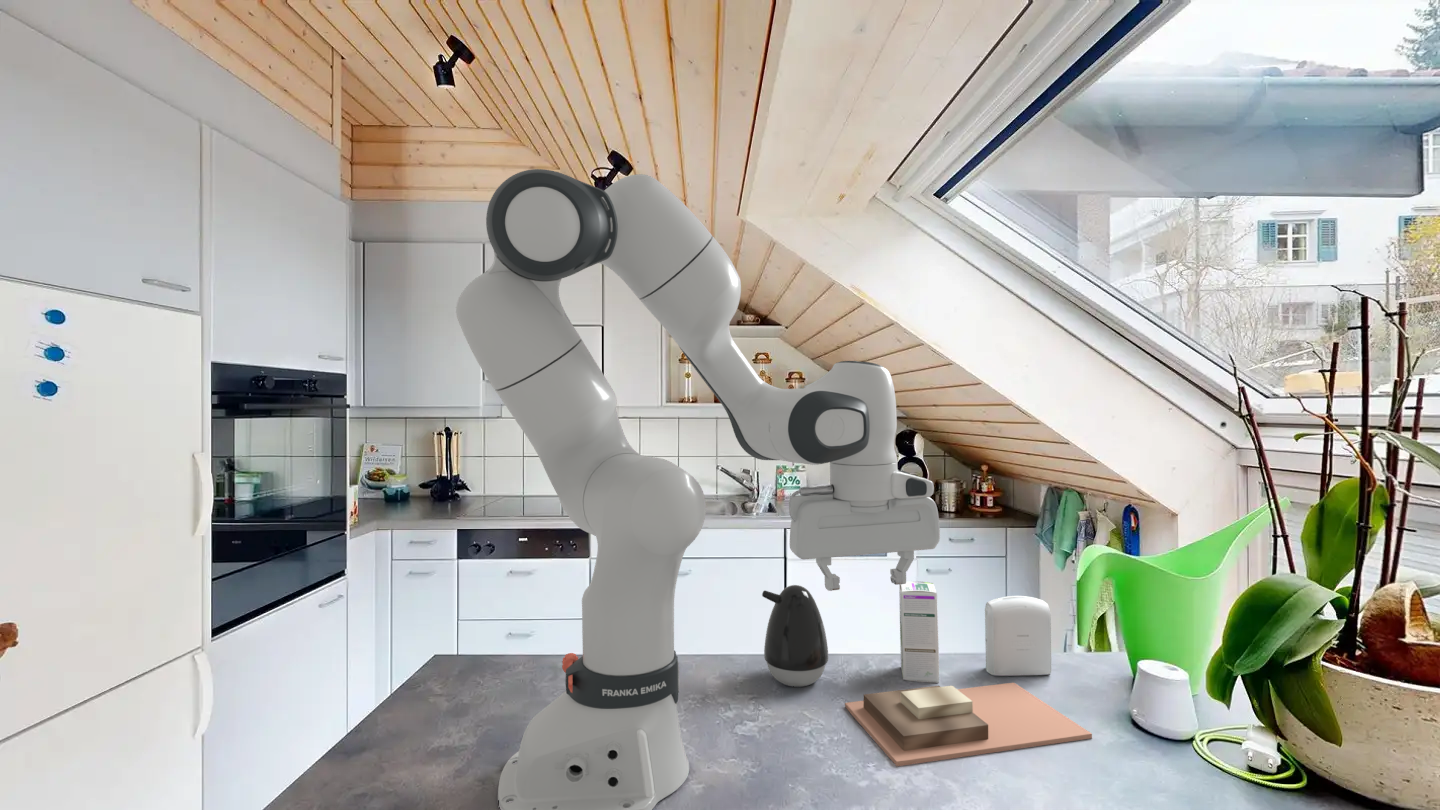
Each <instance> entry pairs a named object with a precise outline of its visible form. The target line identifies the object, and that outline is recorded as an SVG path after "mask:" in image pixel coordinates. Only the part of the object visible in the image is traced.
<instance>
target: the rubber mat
mask: <svg viewBox="0 0 1440 810" xmlns="http://www.w3.org/2000/svg"><path fill="white" fill-rule="evenodd" d="M956 689H957V690H958V691H960V692H961V693H962V694H964V695H965V696H966V697H968V698H969V699H970V700H971V701H973V713H974V714H975V715H977V716H978V717H979V718H980V719H982V720H983V721H984V722H985V723H987V724H988V739H987V740H979V741H972V742H965V743H958V744H951V745H944V746H937V747H929V748H922V749H915V750H908V751H903V750H902V748H901V747H900V746H899V745H898V744H897V743H896V742H895V741H894V740H893V739H892V738H891V737H890V736H889V734H888V733H887V732H886V731H885V730H884V729H883V728H882V727H881V726H880V725H879V724H878V723H877V721H876V720H875V719H874V718H873V717H872V716H871V715H870V714H869V713H868V712H867V711H866V710H865V709H864V700H859V701H858V700H857V701H851V702H849V701H848V702H845V703H844V708H846V710H847V711H848V712H849V713H850V715H851V716H852V717H853V718H854V719H855V721H857V722H858V723H859V725H860V726H861V727H862V728H863V729H864V731H865V732H866V733H867V734H868V735H869V737H870V738H871V739H873V741H874V742H875V743H876V744H877V746H878V747H879V748H880V749H881V750H882V751H883V753H885V755H886V756H887V757H888V759H890V760H891V762H892V763H893V764H894V765H895V766H896V767H903V766H909V765H916V764H923V763H930V762H931V763H932V762H936V761H944V760H951V759H958V758H965V757H971V756H972V757H973V756H979V755H985V754H992V753H993V754H994V753H999V752H1006V751H1013V750H1014V751H1015V750H1021V749H1027V748H1034V747H1039V746H1047V745H1055V744H1061V743H1068V742H1074V741H1075V742H1076V741H1081V740H1089V739H1093V733H1092V732H1090V731H1088V730H1087V729H1086V728H1084V727H1083V726H1081V725H1079V724H1078V723H1076V722H1075V721H1074V720H1072V719H1070V718H1069V717H1067V716H1066V715H1064V714H1063V713H1061V712H1059V711H1058V710H1057V709H1055V708H1053V707H1052V706H1051V705H1049V704H1047V703H1046V702H1045V701H1042V700H1041V699H1040V698H1038V697H1036V696H1035V695H1034V694H1033V693H1032V692H1031V693H1030V692H1029V691H1028V690H1026V689H1025V688H1023V687H1022V686H1021V685H1018V684H1017V683H1015V682H1007V683H999V684H991V685H983V686H982V685H980V686H974V687H967V688H966V687H965V688H964V687H963V688H956Z"/></svg>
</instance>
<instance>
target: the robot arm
mask: <svg viewBox="0 0 1440 810" xmlns="http://www.w3.org/2000/svg"><path fill="white" fill-rule="evenodd" d="M485 222H486V224H485V225H486V233H487V236H488V237H487V238H488V239H489V244H490V245H491V247H492V249H493V252H494V253H493V254H494V256H493V257H494V258H493V263H492V265H491V266H490V267H489V268H488V269H487V270H486V271H485V272H483V273H482V274H480V275H477V277H475V278H474V279H473V280H471V282H469V283H468V284H467V285H466V286H465V288H464V289H463V290H462V292H461V294H460V296H459V297H458V299H457V302H456V307H455V313H456V318H457V321H458V323H459V326H460V328H461V331H462V333H463V336H464V339H465V340H466V342H467V344H468V347H469V348H470V350H471V353H472V354H473V356H474V358H475V360H476V361H477V364H478V365H479V367H480V369H481V370H482V372H483V374H484V376H485V377H486V378H487V380H488V382H489V383H490V384H491V386H492V388H493V390H494V391H495V392H496V393H497V395H498V397H499V398H500V399H501V401H502V403H503V404H504V405H505V407H506V409H507V410H508V411H509V413H510V414H511V415H512V417H513V418H514V420H515V421H516V423H517V425H518V426H519V427H520V429H521V431H522V432H523V434H525V436H526V438H527V439H528V441H529V443H530V444H531V445H532V447H533V448H534V450H535V453H536V454H537V456H538V458H539V459H540V462H541V463H542V464H541V465H542V467H543V469H544V471H545V473H546V475H547V477H548V479H549V481H550V483H551V485H552V488H553V490H554V491H555V492H556V495H557V496H558V499H559V503H560V505H561V507H562V510H563V511H564V512H565V514H566V515H567V516H568V517H569V520H571V521H572V522H573V523H574V524H575V525H576V526H577V528H579V529H580V530H582V531H584V532H586V533H588V534H590V535H593V536H594V537H595V538H596V541H597V554H596V558H595V564H594V569H593V570H594V571H593V573H592V578H591V581H590V582H589V583H590V584H589V585H588V586H587V588H586V589H585V590H584V592H583V594H582V598H581V622H582V623H581V625H582V626H581V630H582V631H581V633H582V635H581V638H582V655H581V656H580V657H579V656H577V653H573V652H569V653H567V654H565V655H564V657H563V658H562V661H561V662H562V663H561V664H562V667H561V668H562V670H563V672H564V673H565V679H564V680H565V691H563V692H562V693H561V694H560V695H558V697H556V698H555V699H554V700H552V702H550V703H549V704H548V705H546V706H545V707H544V708H543V709H541V710H540V711H539V712H538V713H536V714H535V715H534V716H533V717H532V718H531V719H530V721H529V722H528V724H527V727H526V728H525V730H524V733H523V735H522V738H521V741H520V746H519V750H518V751H517V752H515V753H514V754H513V755H512V756H510V758H509V759H508V760H507V762H506V763H505V765H504V767H503V768H502V771H501V773H500V776H499V780H498V781H499V782H498V789H497V801H498V800H499V804H500V806H501V808H502V809H503V810H653V809H654V808H655V806H656V805H657V804H658V803H659V802H660V801H661V800H664V799H665V798H666V797H668V796H670V795H671V794H673V793H674V792H675V791H677V790H679V789H680V788H681V786H682V785H683V784H684V782H685V781H686V780H687V778H688V775H689V772H690V761H689V759H688V756H687V754H686V750H685V746H684V742H683V738H682V732H681V727H680V719H679V713H678V702H679V693H680V663H679V659H678V656H677V653H676V652H677V651H676V650H675V594H676V586H677V581H678V575H679V571H680V567H681V564H682V561H683V558H684V554H685V552H686V549H687V548H688V547H689V546H690V545H691V544H693V543H694V541H695V540H696V538H697V537H698V536H699V534H700V532H701V531H702V529H703V525H704V522H705V520H706V514H707V504H706V503H707V502H706V497H705V494H704V491H703V488H702V486H701V485H700V484H699V482H698V481H697V479H696V477H694V476H693V475H691V474H690V473H688V472H687V471H686V470H684V469H683V468H681V467H680V466H679V465H676V464H675V463H673V462H671V461H669V460H667V459H664V458H661V457H653V456H647V455H643V454H639V452H637V451H636V450H635V449H634V448H633V447H632V445H630V443H629V441H628V440H627V437H626V435H625V433H624V430H623V428H622V425H621V421H620V418H619V416H618V412H617V405H618V400H617V399H618V398H617V395H616V393H615V391H614V390H613V387H612V386H611V384H610V383H609V382H608V379H607V378H606V376H605V375H604V373H603V371H602V370H601V368H600V366H599V365H598V363H597V362H596V360H595V359H594V357H593V356H592V353H591V352H590V351H589V349H588V347H587V346H586V345H585V342H584V341H583V339H582V338H581V336H580V334H579V332H578V331H577V329H576V328H575V327H574V325H573V323H572V322H571V320H570V318H569V317H568V315H567V313H566V311H565V309H564V307H563V305H562V302H561V301H562V300H561V299H560V298H561V297H560V284H561V281H562V279H565V278H567V277H570V276H573V275H575V274H577V273H579V272H582V271H583V270H585V269H587V268H590V267H593V266H594V265H596V264H601V265H603V266H605V267H607V268H608V269H610V270H612V272H614V273H615V274H616V275H617V276H618V277H619V278H620V279H621V280H622V281H623V282H624V283H625V284H626V285H627V287H628V288H629V289H630V290H631V291H632V293H633V294H634V295H635V296H636V297H637V298H638V299H639V301H640V302H641V304H642V305H644V307H645V308H646V309H647V310H648V311H649V312H650V313H651V315H652V316H653V317H654V318H655V319H656V320H657V321H658V322H659V324H660V325H661V326H662V327H663V328H664V329H665V330H666V332H667V333H668V334H669V335H670V337H672V339H673V340H674V342H675V343H676V345H678V347H679V349H680V350H681V352H682V353H683V355H684V356H685V358H686V359H687V360H688V361H689V363H690V365H691V366H692V367H693V368H694V370H695V371H696V372H697V374H699V376H700V377H701V379H702V380H703V381H704V382H705V384H706V385H707V386H708V388H709V390H710V391H711V392H712V393H713V394H714V396H715V397H716V399H717V400H718V401H719V402H720V404H721V405H722V407H723V408H724V410H725V412H726V414H727V416H728V418H729V421H730V424H731V426H732V430H733V433H734V437H735V439H736V440H737V442H738V444H739V445H740V447H741V448H742V449H743V451H744V452H745V453H747V454H748V455H749V456H751V457H753V458H754V459H757V460H761V461H783V462H788V463H794V464H795V463H796V464H803V465H810V466H811V465H812V466H813V465H814V466H816V465H817V466H818V465H823V464H828V463H829V484H827V485H818V486H801V487H799V489H798V490H796V491H794V492H793V493H791V495H790V497H789V501H788V510H789V511H788V513H789V517H790V518H791V520H790V529H789V549H790V551H791V553H793V554H794V555H795V556H796V557H797V558H799V559H800V560H814V559H815V563H816V565H817V567H819V570H820V571H821V573H822V574H823V575H824V587H825V590H827V591H828V592H829V591H830V592H832V591H840V589H841V586H840V583H841V582H840V581H841V579H840V577H839V575H837V574H836V573H832V572H831V570H830V568H829V566H832V558H839V557H840V558H841V557H853V556H864V555H876V554H877V555H878V554H889V553H897V556H898V557H900V558H899V560H898V561H897V564H896V566H895V568H890V582H891V583H892V584H893V585H899V584H906V582H907V572H908V570H909V568H910V567H911V565H912V563H913V561H914V559H915V551H927V550H934V549H935V548H936V547H937V545H938V544H939V543H940V539H941V537H940V536H941V534H940V533H941V529H940V518H939V517H940V516H939V511H938V507H937V504H936V502H935V501H934V499H932V498H931V497H932V495H933V494H934V490H935V488H934V482H933V481H932V480H930V479H927V478H925V477H922V476H918V475H914V474H911V473H910V472H908V471H904V470H900V469H898V468H899V467H898V456H897V452H896V449H895V437H896V433H897V427H898V425H897V424H898V423H897V422H898V420H897V419H898V417H897V414H898V413H897V401H896V400H897V399H896V393H895V390H896V389H895V386H894V381H893V378H892V375H891V373H890V371H889V370H888V369H887V368H886V367H884V366H883V365H880V364H878V363H874V362H869V361H857V360H844V361H843V360H842V361H838V362H835V363H834V364H833V365H832V368H831V369H830V370H829V371H828V372H826V373H825V374H824V375H823V376H821V377H820V378H819V379H817V380H815V381H813V382H812V383H809V384H807V385H803V387H801V388H800V387H799V388H780V387H778V386H777V387H776V386H774V385H772V384H770V383H767V382H766V381H764V380H763V379H762V378H761V377H760V376H759V374H758V373H757V371H756V370H755V369H754V368H753V366H752V365H751V363H750V361H748V359H747V358H746V356H745V355H744V354H743V352H742V350H741V349H740V348H739V346H738V345H737V343H736V342H735V340H734V339H733V336H732V335H731V331H730V323H731V321H732V319H733V318H734V316H735V314H736V312H737V310H738V307H739V304H740V300H741V295H742V282H741V277H740V275H739V273H738V271H737V268H736V267H735V265H734V264H733V261H732V260H731V258H730V257H729V256H728V253H727V252H726V251H725V250H724V248H723V246H721V244H720V243H719V242H718V241H717V239H716V238H715V237H714V236H713V235H712V233H711V232H710V231H709V230H708V229H707V227H706V226H705V225H704V224H703V222H701V220H700V219H699V218H698V217H697V216H696V215H695V213H693V211H691V209H690V208H688V206H686V205H685V203H684V202H683V201H681V200H680V198H678V197H677V196H676V195H675V193H673V192H672V191H671V190H670V189H669V188H668V187H666V186H665V185H664V184H663V183H662V182H660V181H659V180H658V179H656V178H655V177H653V176H651V175H648V174H643V173H641V174H640V173H639V174H631V175H629V176H624V177H622V178H620V179H618V180H616V181H615V182H613V183H612V184H610V185H609V186H608V187H607V188H605V190H604V189H601V188H599V187H597V186H594V185H593V184H592V185H591V184H588V183H586V182H583V181H581V180H579V179H576V178H573V177H572V176H570V175H567V174H564V173H563V172H559V171H555V170H550V169H543V168H542V169H541V168H532V169H525V170H523V171H520V172H517V173H515V174H513V175H511V176H510V177H508V178H506V180H504V181H503V182H502V183H501V184H500V185H499V186H498V187H497V188H496V190H495V191H494V193H493V194H492V196H491V198H490V201H489V203H488V205H487V211H486V217H485ZM515 762H517V764H513V763H515ZM509 801H513V802H511V803H507V802H509Z"/></svg>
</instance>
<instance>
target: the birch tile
mask: <svg viewBox="0 0 1440 810" xmlns="http://www.w3.org/2000/svg"><path fill="white" fill-rule="evenodd" d="M957 689H958V688H956V687H955V686H954V685H947V686H946V685H945V686H940V687H936V688H928V689H919V690H911V691H902V692H901V703H902V704H903V705H904V706H905V707H906V708H907V709H908V710H909V711H910V712H911V713H913V714H914V715H915V716H916V717H917V718H918V719H925V718H933V717H940V716H948V715H956V714H964V713H971V712H973V701H971V700H970V699H969V698H968V697H966V696H965V695H964V694H962V693H961V692H960V691H958V690H957Z"/></svg>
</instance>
